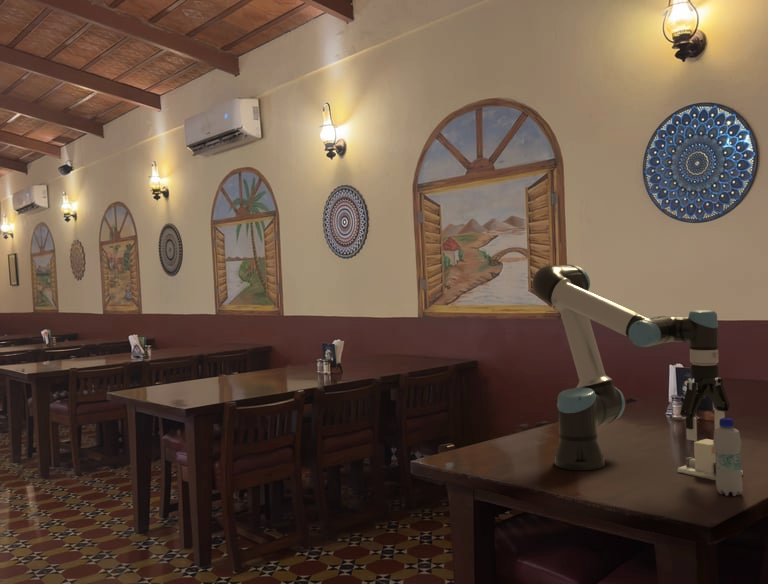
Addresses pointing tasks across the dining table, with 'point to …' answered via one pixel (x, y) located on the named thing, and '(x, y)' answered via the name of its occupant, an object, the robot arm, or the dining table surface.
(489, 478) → the dining table surface
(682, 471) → the rail board
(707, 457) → the block
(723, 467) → the bottle
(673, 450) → the dining table surface
